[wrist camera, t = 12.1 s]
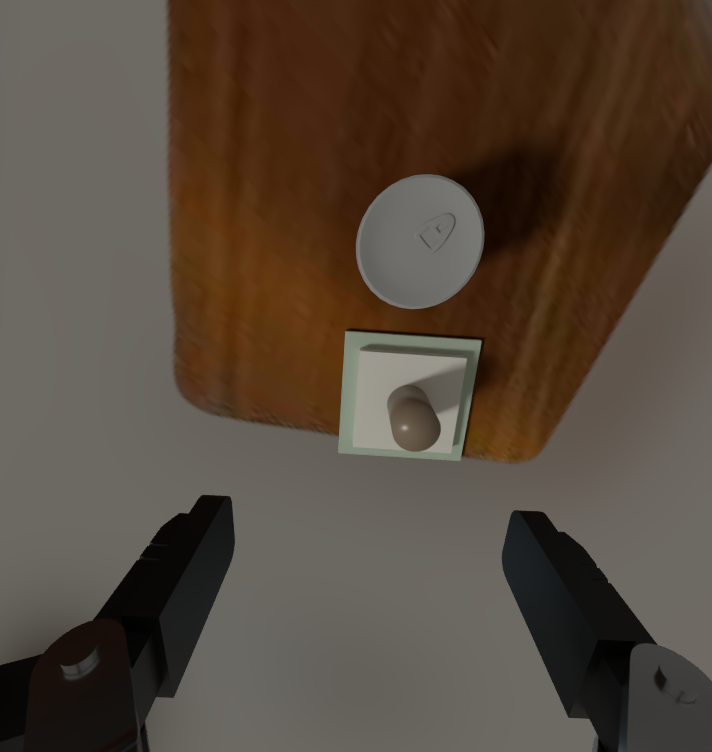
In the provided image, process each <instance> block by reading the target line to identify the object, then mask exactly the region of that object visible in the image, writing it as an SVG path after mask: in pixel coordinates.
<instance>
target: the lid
mask: <svg viewBox="0 0 712 752" xmlns="http://www.w3.org/2000/svg"><path fill="white" fill-rule="evenodd" d="M466 362H467V358H466V357H465V356H464V355H452V354H438V353H424V352H410V351H395V350H381V349H367V348H360V356H359V369H358V382H357V396H356V409H355V423H354V436H353V447H361V448H376V449H391V450H406V451H411V452H420V451H421V452H436V453H451V451H452V445H453V439H454V433H455V427H456V421H457V415H458V409H459V404H460V398H461V392H462V386H463V380H464V374H465V368H466Z"/></svg>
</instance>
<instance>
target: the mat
mask: <svg viewBox="0 0 712 752" xmlns="http://www.w3.org/2000/svg"><path fill="white" fill-rule="evenodd" d="M481 342H482V341H481V340H477V339H463V338H448V337H434V336H419V335H405V334H390V333H376V332H361V331H347V330H346V331H345V346H344V363H343V380H342V397H341V414H340V431H339V448H338V453H346V454H347V453H348V454H361V455H378V456H392V457H409V458H424V459H439V460H455V461H460V460H461V455H462V449H463V444H464V438H465V432H466V427H467V421H468V415H469V410H470V404H471V398H472V393H473V387H474V382H475V376H476V370H477V365H478V359H479V353H480V348H481ZM360 348H367V349H381V350H395V351H410V352H424V353H438V354H452V355H464V356H465V357H466V358H467V362H466V368H465V374H464V380H463V386H462V392H461V398H460V404H459V409H458V415H457V421H456V427H455V433H454V439H453V445H452V451H451V453H436V452H421V451H420V452H411V451H406V450H391V449H376V448H361V447H353V436H354V423H355V409H356V396H357V382H358V369H359V356H360Z"/></svg>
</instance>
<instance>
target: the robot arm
mask: <svg viewBox="0 0 712 752" xmlns="http://www.w3.org/2000/svg"><path fill="white" fill-rule="evenodd" d="M234 537H235V536H234V523H233V511H232V501H231V498H230V497H229V496H215V495H202V496H201V497H200V498H199V499H198V500H197V502H196V504H195V505H194V507H193V508H192V509H191V511H190V512H189V514H186V513H179V514H178V515H177V516H175V517H174V518H172V519H171V520H170V521H168V522H167V523H166V524H164V525H163V526H162V527H161V528H160V530H159V531H158V532H157V534H156V535H155V536H154V538H153V539H152V541H151V542H150V545H149V546H147V547H146V549H145V550H144V551H143V553H142V554H141V556H140V559H139V560H137V561H136V562H135V564H134V565H133V567H132V568H131V569H130V571H129V572H128V573H127V575H126V576H125V577H124V579H123V580H122V582H121V583H120V584H119V586H118V587H117V588H116V590H115V591H114V593H113V594H112V595H111V597H110V598H109V599H108V601H107V602H106V603H105V605H104V606H103V607H102V609H101V610H100V612H99V613H98V614H97V616H96V617H95V618H94V619H93V620H92V621H88V622H86V623H83V624H81V625H79V626H76V627H75V628H73V629H71V630H69V631H68V632H66V633H65V634H63V635H62V636H61V637H59V638H58V639H57V640H56V641H55V642H53V643H52V644H51V645H50V646H49V647H48V649H46V650H45V652H44V653H43V654H40V655H37V656H34V657H30V658H26V659H22V660H18V661H15V662H11V663H7V664H3V665H0V752H150V748H149V741H148V734H147V727H146V721H145V720H146V717H147V715H148V713H149V711H150V709H151V707H152V704H153V702H154V700H155V698H156V697H169V698H173V697H174V696H175V693H176V691H177V689H178V686H179V684H180V682H181V679H182V677H183V674H184V672H185V670H186V667H187V665H188V663H189V660H190V658H191V656H192V653H193V651H194V648H195V646H196V644H197V641H198V639H199V637H200V634H201V632H202V629H203V627H204V625H205V622H206V620H207V618H208V615H209V612H210V610H211V608H212V606H213V603H214V601H215V599H216V596H217V594H218V592H219V589H220V587H221V584H222V582H223V580H224V577H225V575H226V573H227V570H228V568H229V566H230V563H231V560H232V557H233V551H234V545H235V538H234ZM502 565H503V571H504V574H505V577H506V579H507V582H508V584H509V586H510V588H511V591H512V593H513V595H514V597H515V599H516V602H517V604H518V606H519V608H520V611H521V613H522V615H523V617H524V619H525V622H526V624H527V626H528V628H529V631H530V633H531V635H532V637H533V640H534V642H535V644H536V646H537V648H538V651H539V652H540V655H541V657H542V659H543V662H544V664H545V666H546V668H547V671H548V673H549V675H550V677H551V680H552V682H553V684H554V686H555V689H556V691H557V693H558V695H559V697H560V700H561V702H562V704H563V706H564V709H565V711H566V713H567V715H568V717H569V718H586V719H590V721H591V723H592V725H593V727H594V729H595V731H596V735H595V738H594V741H593V748H592V752H712V681H711V680H710V679H709V678H708V677H707V676H706V675H705V674H704V673H703V672H702V671H701V670H700V669H699V668H698V667H696V666H695V665H694V664H692V663H691V662H690V661H688V660H687V659H686V658H684V657H683V656H681V655H679V654H677V653H676V652H674V651H672V650H670V649H667V648H665V647H662V646H659V645H657V643H656V642H655V641H654V640H653V638H652V637H651V636H650V634H649V633H648V632H647V631H646V629H645V628H644V626H643V625H642V624H641V623H640V621H639V620H638V619H637V617H636V616H635V615H634V613H633V612H632V611H631V609H630V608H629V607H628V605H627V604H626V603H625V602H624V600H623V599H622V598H621V596H620V595H619V594H618V592H617V591H616V590H615V588H614V587H613V586H612V584H611V583H608V579H607V578H606V577H605V575H604V574H603V573H602V571H601V570H600V569H599V568H597V566H596V563H595V562H594V561H593V559H592V558H591V557H590V556H589V554H588V553H587V551H586V550H585V549H584V548H583V547H582V546H581V545H580V544H578V543H577V542H576V541H575V540H574V539H572V538H571V537H570V536H569V535H567V534H566V533H565V532H558V531H557V529H556V528H555V527H554V525H553V524H552V522H551V521H550V520H549V518H548V517H547V516H546V514H545V513H543V512H539V511H518V510H515V511H513V512H512V514H511V517H510V521H509V525H508V529H507V534H506V538H505V543H504V547H503V551H502Z"/></svg>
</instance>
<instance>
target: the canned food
mask: <svg viewBox="0 0 712 752" xmlns="http://www.w3.org/2000/svg"><path fill="white" fill-rule="evenodd" d="M483 246H484V225H483V219H482V216H481V213H480V210H479V207H478V206H477V204H476V202H475V200H474V199H473V197H472V196H471V195H470V194H469V193H468V192H467V190H466V189H465V188H464V187H462V186H461V185H459V184H458V183H456V182H455V181H453V180H451V179H448V178H445V177H443V176H438V175H431V174H425V175H415V176H411V177H408V178H405V179H402V180H400V181H398V182H396V183H395V184H393V185H391V186H389V187H388V188H387V189H386V190H384V191H383V192H382V193H381V194H380V195H378V196H377V198H376V199H375V200H374V201H373V202H372V204H371V205H370V206H369V208H368V209H367V211H366V213H365V215H364V216H363V218H362V221H361V224H360V227H359V230H358V234H357V240H356V259H357V264H358V268H359V271H360V273H361V276H362V278H363V280H364V281H365V283H366V284H367V286H368V287H369V288H370V290H371V291H372V292H373V293H374V294H375V295H377V296H378V297H379V298H380V299H382V300H383V301H385V302H387V303H389V304H391V305H394V306H397V307H400V308H408V309H419V308H427V307H430V306H434V305H437V304H439V303H441V302H443V301H445V300H448V299H449V298H450V297H452V296H453V295H454V294H456V293H457V292H458V291H459V290H460V289H461V288H462V287H463V286H464V285H465V284H466V283H467V282H468V281H469V279H470V278H471V276H472V275H473V273H474V272H475V270H476V267H477V265H478V263H479V261H480V258H481V254H482V250H483Z"/></svg>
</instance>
